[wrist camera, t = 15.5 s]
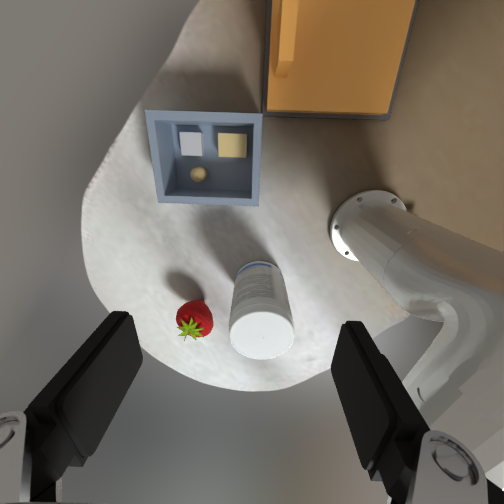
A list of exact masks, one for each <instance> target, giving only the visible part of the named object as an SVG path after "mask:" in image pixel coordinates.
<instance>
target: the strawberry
mask: <svg viewBox="0 0 504 504" xmlns="http://www.w3.org/2000/svg"><path fill="white" fill-rule="evenodd" d="M176 322H177V324H178V326H179V327H177V328H179V329H180V330H182V331H183V333H181V334H180V335H178V336H185V338H186V336H187V334H188V335H190V336H192V337H193V338H194V339H195V340H196V337H204V336H206V335H208V334H209V333H210V332H211V330H212V328H213V317H212V313H211V312H210V310H209V308H208V306H207V305H206V304H205V302H204V301H202V300H195V301H190V302H187V303H185V304H184V305H183V306H181V307H180V308H179V309H178V311H177V315H176ZM184 341H185V339H184Z"/></svg>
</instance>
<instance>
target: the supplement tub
mask: <svg viewBox="0 0 504 504" xmlns="http://www.w3.org/2000/svg"><path fill="white" fill-rule="evenodd" d="M294 336H295V333H294V323H293V318H292V314H291V309H290V305H289V300H288V296H287V291H286V287H285V282H284V278H283V275H282V273H281V271H280V270H279V269H278V268H277V267H276V266H275V265H273V264H271V263H269V262H265V261H254V262H250V263H248V264H246V265H244V266H243V267H242V268H241V269H240V270H239V271H238V273H237V275H236V279H235V285H234V292H233V299H232V306H231V313H230V320H229V339H230V342H231V344H232V346H233V347H234V349H235V350H236V351H238V352H239V353H240V354H242V355H244V356H246V357H249V358H253V359H270V358H274V357H277V356H279V355H281V354H283V353H284V352H286V351H287V350H288V349H289V348H290V347H291V345H292V343H293V341H294Z"/></svg>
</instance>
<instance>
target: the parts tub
mask: <svg viewBox="0 0 504 504" xmlns="http://www.w3.org/2000/svg"><path fill="white" fill-rule="evenodd" d="M144 111H145V117H146V124H147V131H148V138H149V144H150V151H151V158H152V165H153V171H154V178H155V185H156V191H157V198H158V203H182V204H210V205H237V206H259V186H260V163H261V140H262V117H263V114H258V113H228V112H197V111H167V110H144Z"/></svg>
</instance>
